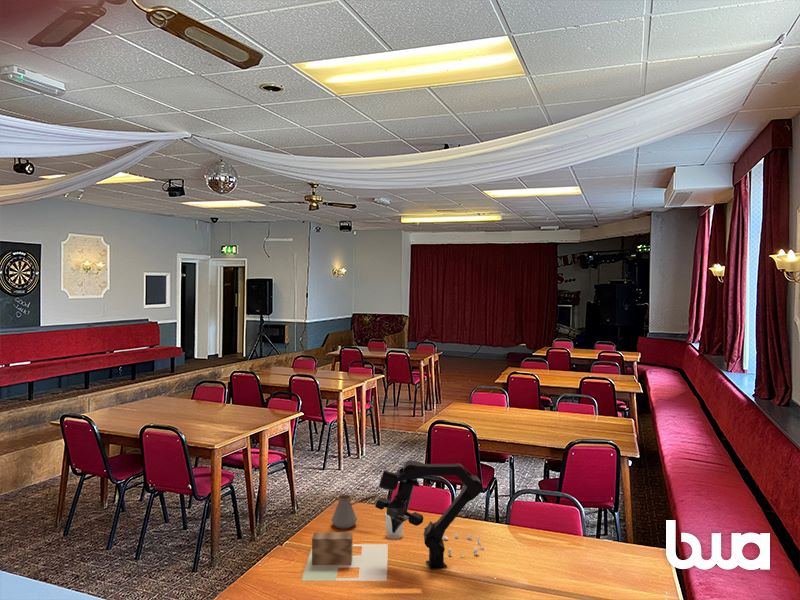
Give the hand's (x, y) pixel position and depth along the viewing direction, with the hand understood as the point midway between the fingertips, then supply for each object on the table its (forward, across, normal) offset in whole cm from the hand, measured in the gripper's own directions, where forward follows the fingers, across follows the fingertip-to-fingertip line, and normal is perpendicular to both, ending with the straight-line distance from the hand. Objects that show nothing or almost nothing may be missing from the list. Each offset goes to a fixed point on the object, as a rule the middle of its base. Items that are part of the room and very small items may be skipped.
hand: (393, 532), depth 226 cm
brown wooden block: (+17, -18, -9) cm, 26 cm away
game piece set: (+6, +20, +28) cm, 34 cm away
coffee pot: (+17, -28, +27) cm, 43 cm away
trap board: (+17, -13, -6) cm, 22 cm away
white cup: (+12, -9, +25) cm, 29 cm away
